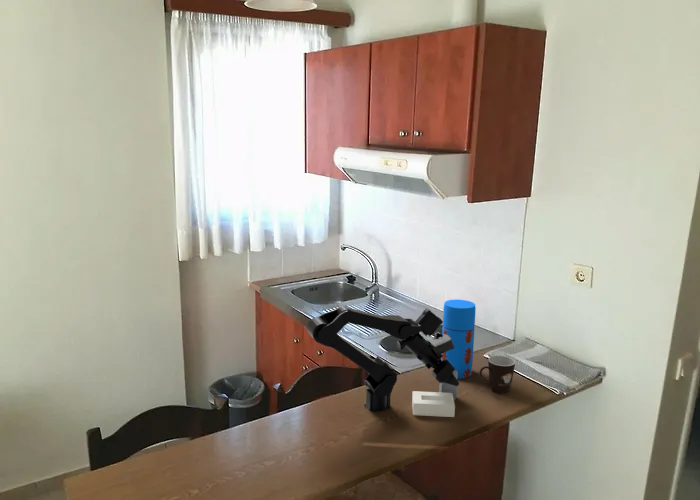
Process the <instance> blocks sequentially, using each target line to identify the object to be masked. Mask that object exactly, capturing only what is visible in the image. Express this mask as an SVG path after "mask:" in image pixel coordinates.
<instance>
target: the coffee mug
mask: <svg viewBox="0 0 700 500" xmlns="http://www.w3.org/2000/svg"><path fill="white" fill-rule="evenodd" d="M487 363H488V366H487V365H485V366H483V367H482V368H480V370H479V376H480V377H481V378H482V379H483V380H484V381H486V382H488V384H489V388H490V389H491V392H492V393H495V394H500V395H503V394H504V395H505V394H509V393H510V392H511V387H512V381H513V377H514V372H515V367H516V360H515V359H514V358H512V357H509V356H505V355H491V356H489V357H488V358H487ZM485 369H488V379H489V380H488V379H487V378H485V377H484V376H483V374H482V372H483V371H484V370H485Z"/></svg>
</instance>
